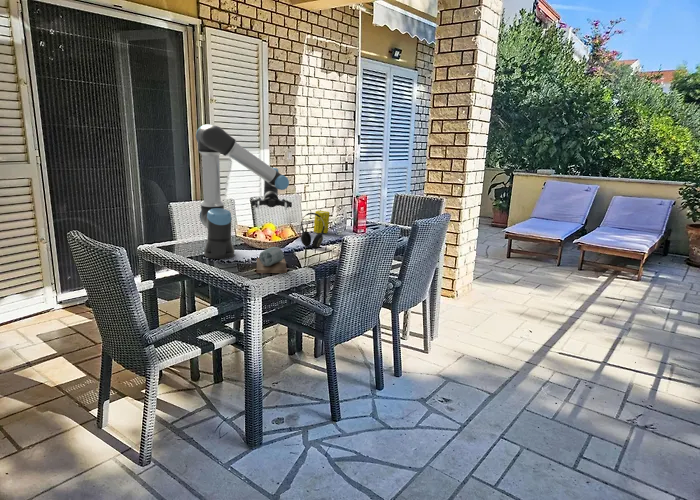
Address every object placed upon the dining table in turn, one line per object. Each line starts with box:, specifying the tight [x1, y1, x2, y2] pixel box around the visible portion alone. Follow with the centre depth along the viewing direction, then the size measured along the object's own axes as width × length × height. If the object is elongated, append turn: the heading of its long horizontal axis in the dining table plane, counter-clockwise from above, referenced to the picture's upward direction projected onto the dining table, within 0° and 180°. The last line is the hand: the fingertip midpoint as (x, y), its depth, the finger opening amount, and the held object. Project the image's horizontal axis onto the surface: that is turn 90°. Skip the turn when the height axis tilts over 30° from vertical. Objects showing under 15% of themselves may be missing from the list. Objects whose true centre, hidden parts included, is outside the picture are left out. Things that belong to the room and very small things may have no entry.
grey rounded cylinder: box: [258, 246, 285, 267], centre depth 225 cm, size 14×10×10 cm
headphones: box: [300, 212, 325, 249], centre depth 266 cm, size 9×15×20 cm, turn 69°
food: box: [313, 209, 330, 234], centre depth 302 cm, size 15×12×10 cm
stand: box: [256, 257, 288, 274], centre depth 226 cm, size 14×18×2 cm
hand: (272, 206), depth 230 cm, fingers open, 13 cm apart
